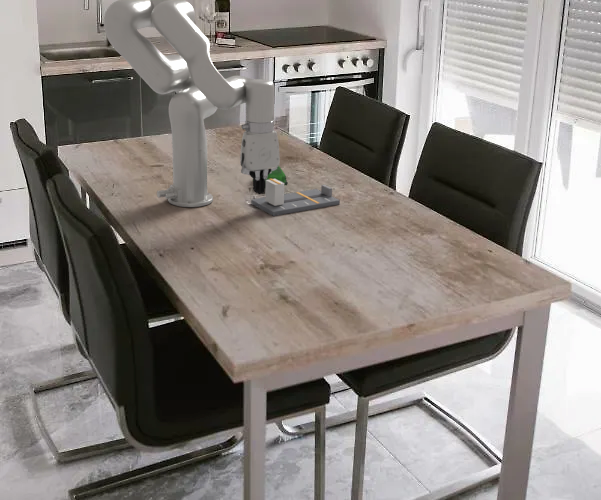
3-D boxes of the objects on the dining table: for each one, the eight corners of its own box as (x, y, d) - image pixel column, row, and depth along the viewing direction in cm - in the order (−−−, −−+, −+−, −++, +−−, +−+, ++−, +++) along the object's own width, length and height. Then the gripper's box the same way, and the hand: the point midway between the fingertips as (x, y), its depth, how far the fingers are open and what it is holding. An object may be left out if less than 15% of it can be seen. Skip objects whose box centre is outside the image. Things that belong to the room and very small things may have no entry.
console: (273, 216, 244) (273, 203, 242) (251, 203, 253) (251, 191, 252) (339, 204, 255) (340, 192, 254) (316, 192, 264) (316, 180, 263)
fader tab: (274, 205, 247) (275, 184, 245) (265, 200, 251) (265, 179, 249) (283, 204, 249) (284, 182, 246) (274, 199, 253) (274, 178, 250)
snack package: (264, 194, 262) (264, 177, 260) (255, 178, 276) (256, 161, 274) (288, 193, 264) (288, 176, 262) (278, 177, 278) (278, 161, 276)
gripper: (241, 132, 232) (241, 200, 239) (291, 126, 240) (289, 192, 247) (228, 126, 238) (228, 192, 245) (276, 121, 246) (275, 185, 252)
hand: (259, 192), depth 246 cm, fingers closed
